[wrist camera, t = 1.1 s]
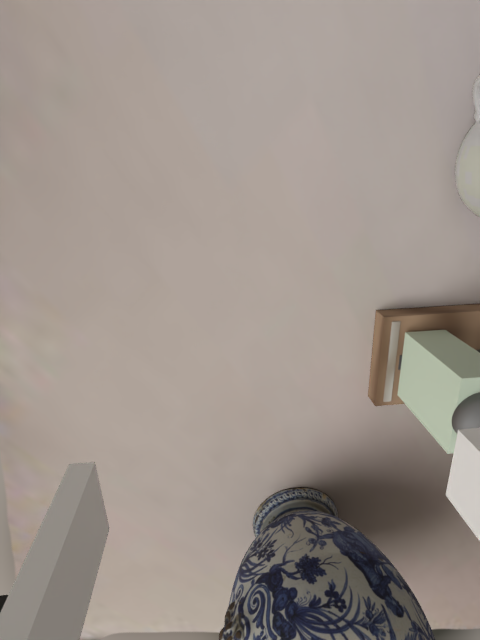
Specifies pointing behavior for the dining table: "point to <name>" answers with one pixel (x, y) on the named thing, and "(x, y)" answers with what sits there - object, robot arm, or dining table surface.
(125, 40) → the dining table surface
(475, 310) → the fader track
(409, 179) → the dining table surface
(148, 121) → the dining table surface
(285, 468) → the dining table surface
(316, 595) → the decorative vase
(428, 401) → the fader tab
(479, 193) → the teacup
